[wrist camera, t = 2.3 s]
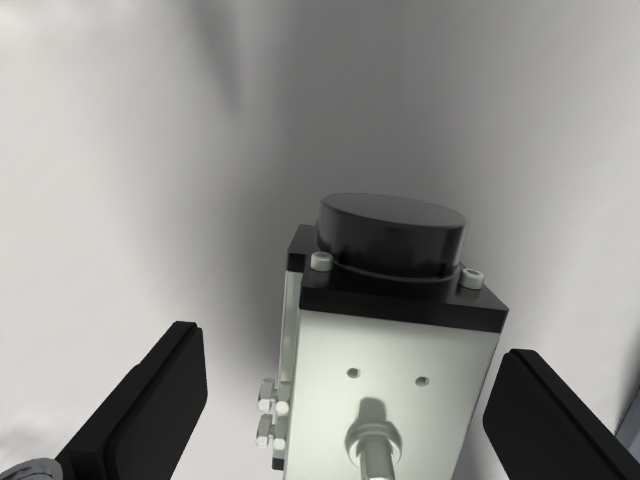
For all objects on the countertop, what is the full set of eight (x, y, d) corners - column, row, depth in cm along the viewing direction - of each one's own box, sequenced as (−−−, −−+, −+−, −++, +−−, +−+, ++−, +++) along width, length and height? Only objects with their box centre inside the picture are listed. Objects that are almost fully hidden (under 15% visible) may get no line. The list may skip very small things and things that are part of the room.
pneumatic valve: (409, 182, 16) (573, 271, 5) (375, 357, 20) (426, 637, 9) (310, 171, 17) (249, 234, 5) (294, 347, 20) (239, 611, 9)
